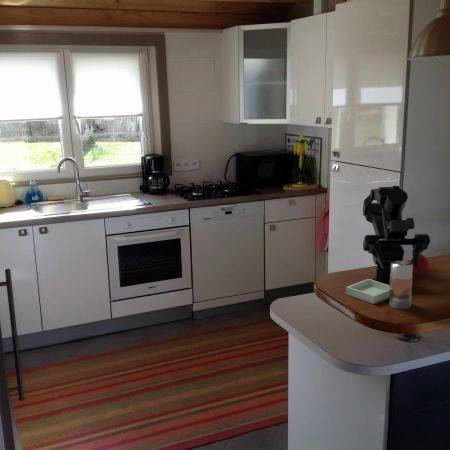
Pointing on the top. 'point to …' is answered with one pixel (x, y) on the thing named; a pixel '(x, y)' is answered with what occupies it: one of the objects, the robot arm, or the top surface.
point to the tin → (400, 284)
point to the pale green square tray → (369, 291)
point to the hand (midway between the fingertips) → (399, 268)
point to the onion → (421, 265)
